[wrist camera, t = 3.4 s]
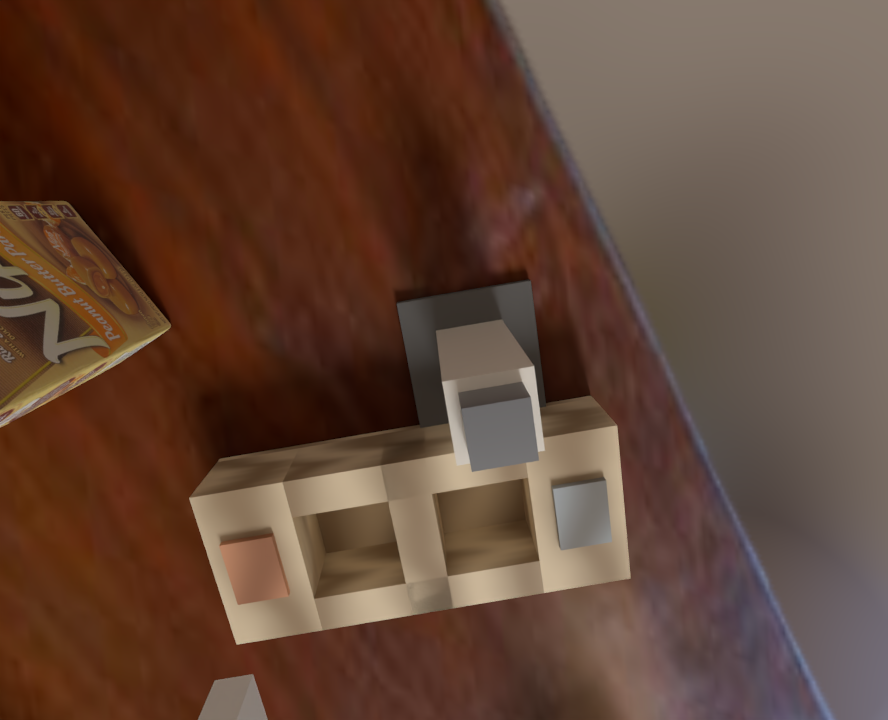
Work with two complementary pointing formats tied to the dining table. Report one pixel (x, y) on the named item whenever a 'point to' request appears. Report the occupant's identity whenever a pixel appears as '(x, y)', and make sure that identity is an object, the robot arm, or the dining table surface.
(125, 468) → the dining table surface
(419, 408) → the mat
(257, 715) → the robot arm
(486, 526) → the socket block
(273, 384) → the dining table surface
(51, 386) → the candy box
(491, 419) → the plug
